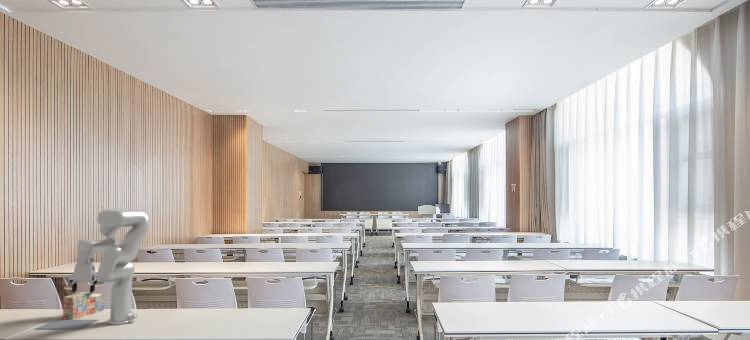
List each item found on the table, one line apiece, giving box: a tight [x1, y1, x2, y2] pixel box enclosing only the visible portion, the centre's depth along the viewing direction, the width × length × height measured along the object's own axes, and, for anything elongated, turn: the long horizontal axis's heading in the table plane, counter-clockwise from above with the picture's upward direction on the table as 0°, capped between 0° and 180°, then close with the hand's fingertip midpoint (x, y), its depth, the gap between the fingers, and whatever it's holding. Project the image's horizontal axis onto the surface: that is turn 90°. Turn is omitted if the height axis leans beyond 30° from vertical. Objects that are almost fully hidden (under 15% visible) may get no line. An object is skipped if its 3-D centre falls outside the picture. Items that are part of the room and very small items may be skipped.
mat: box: [34, 319, 99, 331], centre depth 234 cm, size 22×16×1 cm
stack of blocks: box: [62, 291, 105, 320], centre depth 254 cm, size 21×6×12 cm, turn 169°
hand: (83, 291), depth 255 cm, fingers open, 9 cm apart
